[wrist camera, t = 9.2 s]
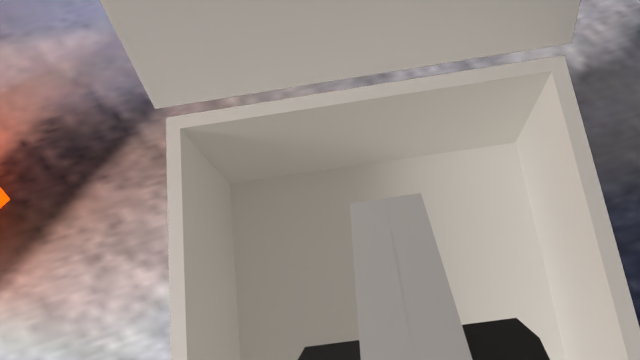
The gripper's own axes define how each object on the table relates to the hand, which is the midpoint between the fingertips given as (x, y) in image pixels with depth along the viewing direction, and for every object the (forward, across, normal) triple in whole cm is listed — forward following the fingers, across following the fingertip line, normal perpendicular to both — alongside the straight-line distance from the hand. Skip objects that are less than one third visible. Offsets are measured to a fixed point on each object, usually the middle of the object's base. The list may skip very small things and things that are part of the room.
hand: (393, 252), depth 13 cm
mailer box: (+10, 0, -13) cm, 16 cm away
